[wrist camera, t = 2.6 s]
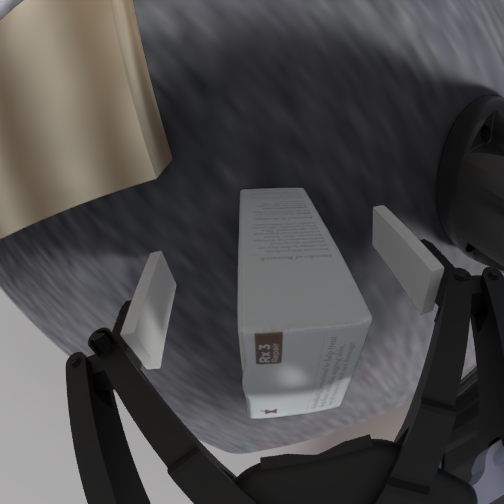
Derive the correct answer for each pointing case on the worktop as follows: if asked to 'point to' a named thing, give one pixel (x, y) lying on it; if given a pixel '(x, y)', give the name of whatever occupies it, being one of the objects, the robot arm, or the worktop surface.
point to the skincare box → (294, 307)
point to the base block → (73, 108)
